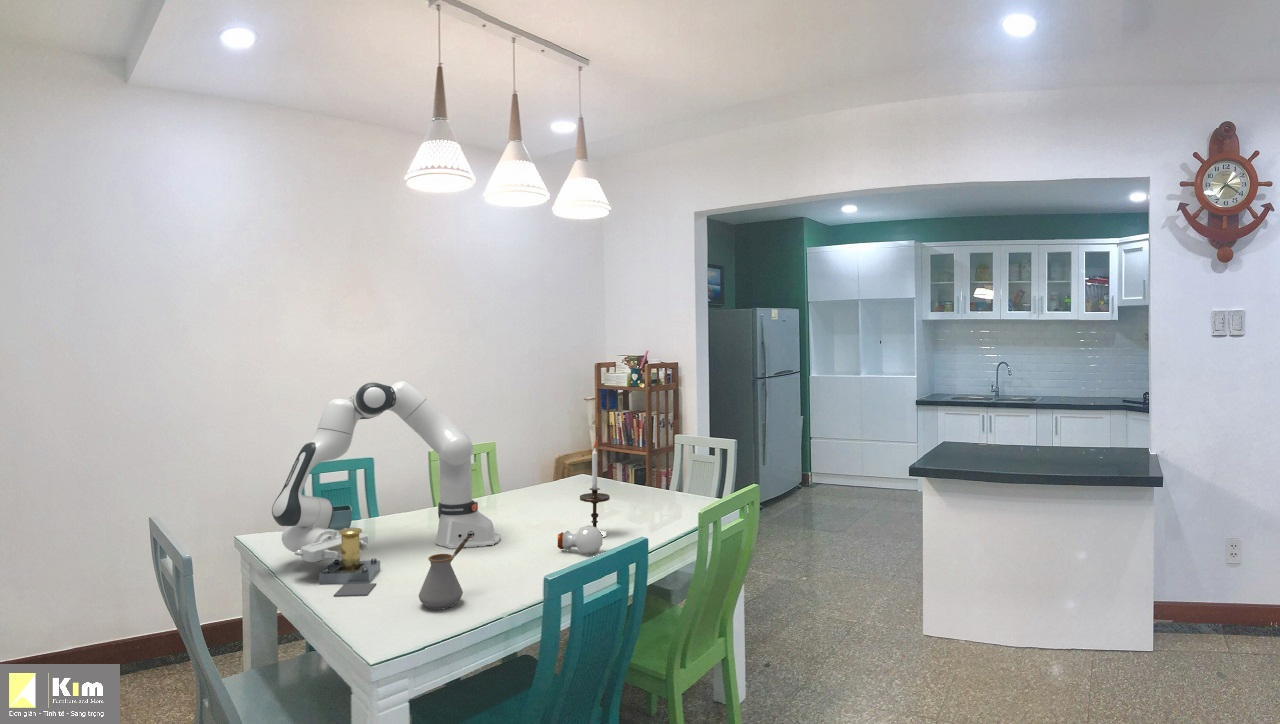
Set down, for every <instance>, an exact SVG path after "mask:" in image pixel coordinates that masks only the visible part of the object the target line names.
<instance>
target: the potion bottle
mask: <svg viewBox="0 0 1280 724" xmlns="http://www.w3.org/2000/svg"><path fill="white" fill-rule="evenodd" d="M599 530H600V529H599V528H598V527H597V528H596V527H593V525H589V524H588V525H584V526H582V527H580V528H579V529H578V530H577V532H576V533H571V532H570V531H569V530H567V531H565V532H563V531H562V532H560V533H558V534H557V548H558V549H559V550H561V549H563V550H565V551H567V550H569V551H570V550H571V549H572V548H577V550H578V551H579V553H582V554H584V555H587V554H588V556H589V555H593V554H596V553H598V552H599V550H600V549H601V547H602V546H603V538H602V536H603V535H602V534H601V532H600V531H599Z"/></svg>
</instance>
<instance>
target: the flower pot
mask: <svg viewBox="0 0 1280 724" xmlns="http://www.w3.org/2000/svg"><path fill="white" fill-rule="evenodd" d="M333 510H334V515H333V520H332V523H331V525H330V527H329V529H341V528H351V526H352V520H353V519H352V518H353V508H352V506H351V505H350V504H345V505H337V506H336V505H335V506H334V505H333Z"/></svg>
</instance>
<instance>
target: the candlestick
mask: <svg viewBox="0 0 1280 724" xmlns="http://www.w3.org/2000/svg"><path fill="white" fill-rule="evenodd" d="M597 441H598V440H597V439H596V440H595V441H594V445H593V452H591V453H592V454H591V468H592V469H591V470H592V472H591V483H592V484H591V488H589V490H590V491H591V492H590V493H588V492H587V493H584V494H581V495H579V500H580V501H581V502H586V503H591V504H592V513H591V514H590V517H591V518H592V520H591V523H592V526H593V527H596V528H598V526H597V523H599V520H598V517H599V513H598V512H597V507H598V506H597V504H599V503H604V502H607V501H609V500H611V499H610V494H608V493H602V492H598V491H599V490H601V488H599V487H598V451H597V449H596V447H597Z"/></svg>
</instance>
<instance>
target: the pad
mask: <svg viewBox="0 0 1280 724" xmlns="http://www.w3.org/2000/svg"><path fill="white" fill-rule="evenodd" d="M376 586H377V583H376V582H375V583H374V582H373V583H372V582H371V583H370V582H369V583H354V584H342V586H341V587H340V588H339V589H338V590H337V591H336V592H335V593H334V594H333V597H335V598H337V597H339V598H340V597H366V596H369V594H370V593H371V592H372V591H373V589H374V588H375V587H376Z"/></svg>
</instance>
